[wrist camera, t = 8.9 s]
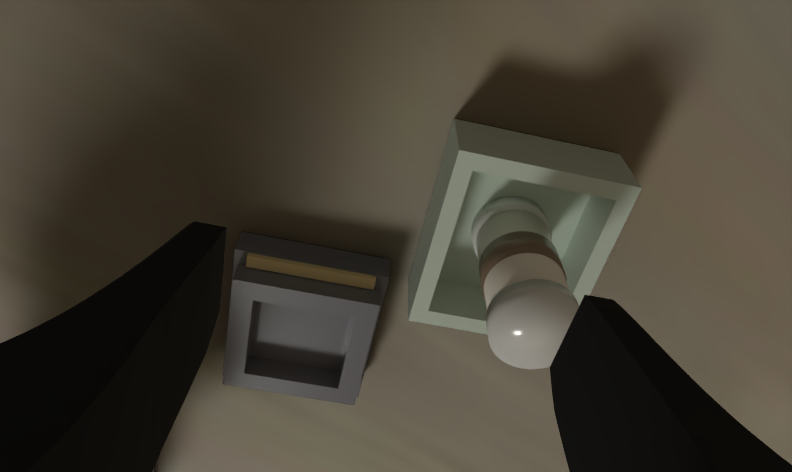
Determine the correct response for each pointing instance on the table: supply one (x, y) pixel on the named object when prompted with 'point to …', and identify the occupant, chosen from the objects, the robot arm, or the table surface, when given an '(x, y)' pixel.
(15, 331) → the table surface
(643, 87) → the table surface
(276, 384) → the grey square holder
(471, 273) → the parts tray
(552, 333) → the cylinder
